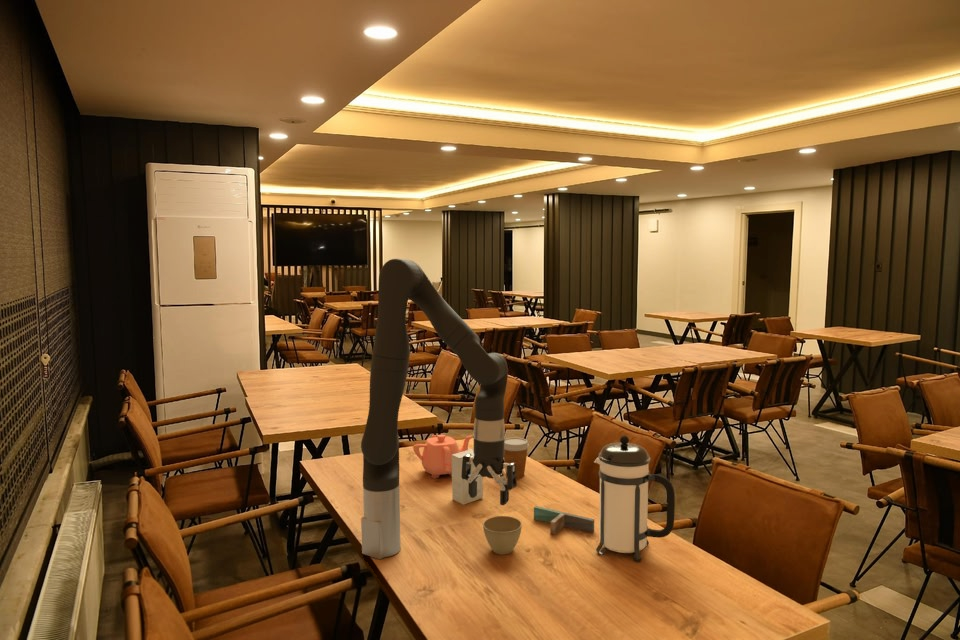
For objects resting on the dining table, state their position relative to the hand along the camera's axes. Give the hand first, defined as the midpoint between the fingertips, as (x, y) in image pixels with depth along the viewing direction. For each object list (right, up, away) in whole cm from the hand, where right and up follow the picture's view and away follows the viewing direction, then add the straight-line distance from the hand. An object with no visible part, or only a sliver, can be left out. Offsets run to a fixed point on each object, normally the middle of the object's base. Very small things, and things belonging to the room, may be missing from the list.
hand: (488, 500), depth 156 cm
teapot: (-15, -9, +68) cm, 70 cm away
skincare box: (-6, -12, +43) cm, 45 cm away
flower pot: (+4, -15, +8) cm, 18 cm away
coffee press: (+36, -15, +8) cm, 40 cm away
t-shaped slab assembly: (+19, -14, +20) cm, 31 cm away
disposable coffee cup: (+10, -10, +64) cm, 66 cm away
